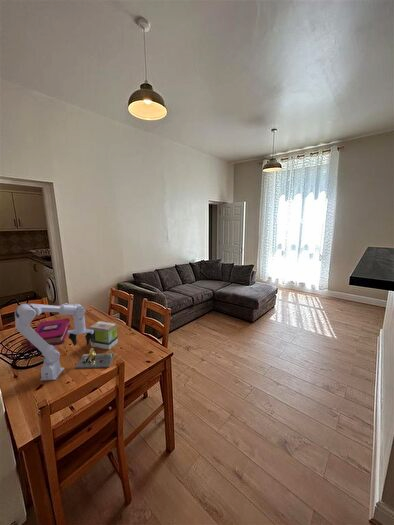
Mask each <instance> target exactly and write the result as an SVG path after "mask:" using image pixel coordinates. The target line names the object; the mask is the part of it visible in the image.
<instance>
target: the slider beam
mask: <svg viewBox="0 0 394 525" xmlns="http://www.w3.org/2000/svg"><path fill="white" fill-rule="evenodd" d="M88 354H89V353H84V354H82V356H81V358H82V357H83V362H86V361H87V359H89V358H88ZM112 354H113V353H106V352H105V353H96V354H94V358H111V357H112Z"/></svg>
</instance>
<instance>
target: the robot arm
mask: <svg viewBox="0 0 394 525" xmlns="http://www.w3.org/2000/svg"><path fill="white" fill-rule="evenodd" d="M42 313H58V314H59V315H66V316H67V315H69V316H70V315H73V316H72V317H73V324H74V329H69V330H68V332H67V335H66V336H68V339H69V340H70V341H71V342H72V344H73V346H74V347H75V346H77V344H78V341H77V335H83V334H84V335H85V339H86V340H85V341H86V345H87V346H89V345H90V344H91V339H90V338H91V335H92V334H93V333H94V330H90V328H89V329H88V328H87V327H86V318H85V313H86V309H85V306H83V305H81V304H80V303H74V304H71V303H70V304H69V303H68V302H65V303H62V304H60V305H52V304H51V305H50V304H41V303H40V304H39V303H21V304H20V305H18V306H17V307H16V310H15V311H14V321H15V328H16V330H17V331H18V332H19V333H20V334H21V335H22V337H24V338H25V339H26V340H27V341H28V340H29V341H30V342H31V343H32V344H33V345H34V346H35V347H36V348H35V349H37V350H38V351H40V352H41V354H42V356H43V357H44V358H43V363H42V364H43V365H42V367H41V369H40V376H41V378H40V381H55V380H57V378H58V377H59V376H60V375H61V374H62V372H63V371H64V370H65V367H61V362H60V361H61V360H60V356H61V353H60V352H59V351H58V350H57V348H55V345H49V344H48V343H47V342H46V341H45V340H44V339H43V338H41V337H40V336H39V335H38V334H37V333H36V332H35V329H34V328H32V327H31V326H30V325H31V322H32V321H33V320H34V319H35V317H36V316H37V317H38V316H40V315H41V314H42Z"/></svg>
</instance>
